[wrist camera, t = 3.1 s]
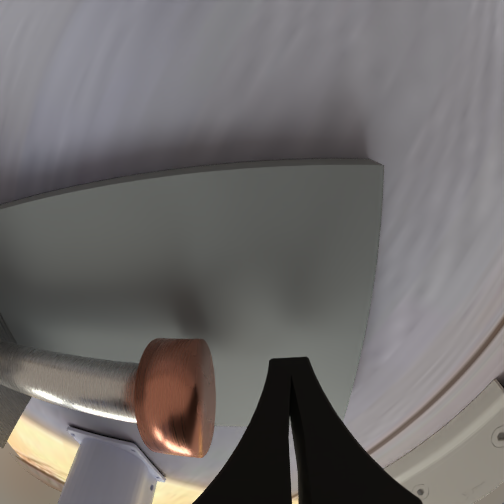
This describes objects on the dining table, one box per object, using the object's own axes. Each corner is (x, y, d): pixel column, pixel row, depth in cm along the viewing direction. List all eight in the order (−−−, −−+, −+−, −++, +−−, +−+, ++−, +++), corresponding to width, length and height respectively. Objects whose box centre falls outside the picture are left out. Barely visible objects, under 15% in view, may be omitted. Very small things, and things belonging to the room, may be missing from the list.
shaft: (219, 389, 12) (207, 475, 8) (8, 357, 13) (-23, 401, 9) (202, 313, 10) (174, 415, 6) (-22, 301, 11) (-63, 344, 7)
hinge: (497, 376, 16) (549, 453, 8) (506, 369, 18) (553, 435, 10) (375, 473, 23) (409, 537, 15) (399, 461, 25) (431, 518, 17)
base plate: (339, 401, 16) (343, 420, 15) (17, 372, 18) (9, 383, 16) (368, 158, 10) (383, 165, 9) (-53, 222, 12) (-66, 230, 10)
